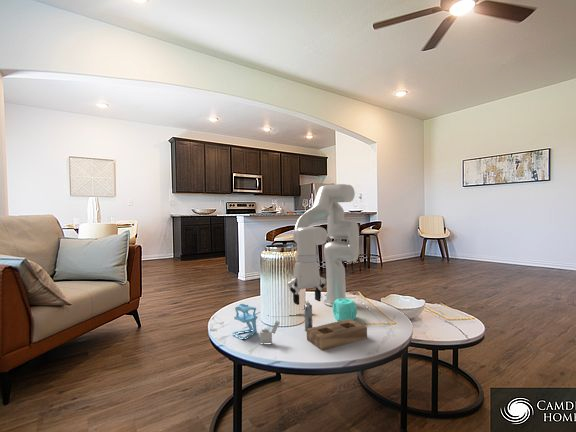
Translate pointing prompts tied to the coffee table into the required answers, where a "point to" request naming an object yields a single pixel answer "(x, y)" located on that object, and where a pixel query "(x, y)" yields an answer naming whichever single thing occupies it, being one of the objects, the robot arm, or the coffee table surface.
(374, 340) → the coffee table surface
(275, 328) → the lighter
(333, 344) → the hole block
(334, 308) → the decorative dice
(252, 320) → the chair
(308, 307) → the peg
